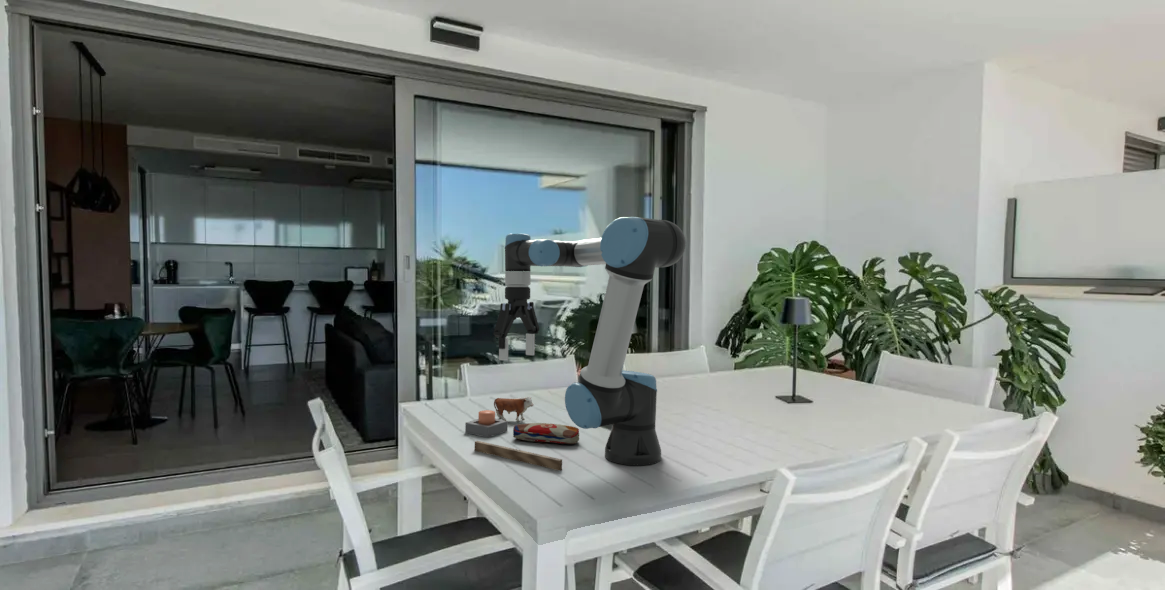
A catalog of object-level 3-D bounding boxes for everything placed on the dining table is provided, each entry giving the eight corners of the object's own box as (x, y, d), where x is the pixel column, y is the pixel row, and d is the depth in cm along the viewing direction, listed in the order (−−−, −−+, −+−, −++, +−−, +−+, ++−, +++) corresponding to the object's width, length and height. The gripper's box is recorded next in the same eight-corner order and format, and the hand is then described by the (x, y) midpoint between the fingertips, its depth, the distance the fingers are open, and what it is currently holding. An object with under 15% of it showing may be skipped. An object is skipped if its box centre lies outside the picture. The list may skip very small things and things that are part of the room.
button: (498, 424, 189) (498, 411, 189) (487, 428, 185) (487, 415, 184) (485, 422, 191) (485, 409, 191) (474, 425, 187) (475, 412, 187)
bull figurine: (532, 423, 200) (532, 398, 199) (492, 420, 202) (492, 395, 201) (535, 419, 204) (535, 395, 203) (496, 417, 206) (496, 393, 206)
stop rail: (561, 469, 155) (562, 459, 155) (559, 470, 154) (559, 460, 154) (477, 449, 170) (477, 440, 170) (474, 450, 169) (474, 441, 169)
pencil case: (565, 452, 170) (565, 434, 170) (506, 441, 180) (507, 424, 179) (583, 442, 180) (584, 425, 180) (527, 432, 189) (528, 416, 189)
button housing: (507, 430, 190) (507, 421, 189) (488, 437, 182) (488, 427, 182) (485, 426, 194) (485, 416, 194) (465, 432, 187) (465, 422, 186)
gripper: (530, 285, 196) (530, 352, 196) (481, 286, 174) (480, 361, 174) (550, 285, 192) (550, 353, 193) (502, 286, 170) (502, 363, 171)
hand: (517, 357), depth 183 cm, fingers open, 13 cm apart
